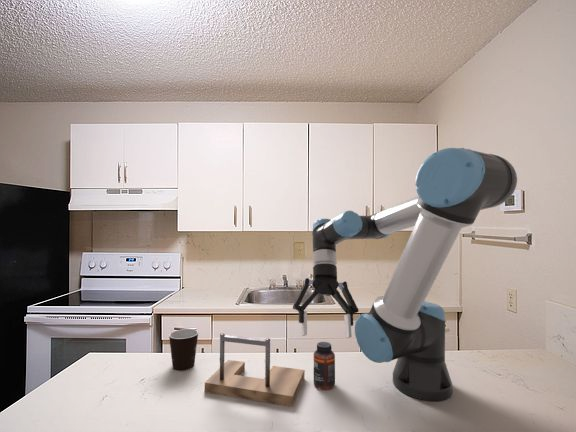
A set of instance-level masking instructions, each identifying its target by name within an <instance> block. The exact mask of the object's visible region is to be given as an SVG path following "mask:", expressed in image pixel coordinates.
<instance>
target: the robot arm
mask: <svg viewBox="0 0 576 432" xmlns="http://www.w3.org/2000/svg"><path fill="white" fill-rule="evenodd" d="M415 175H416V176H415V182H414V183H415V186H416V189H415V190H416V194H417V196H415V197H413V198H410V199H407V200H405V201H402V202H401V203H398V204H396V205H393V206H391V207H388V208H385V209H384V210H380V211H378V212H376V213H374V214H371V215H359V214H358V213H357V212H355V211H353V210H345V211H344V212H341V213H340V214H337V215H336V216H335V217H334V218H332V219H330V218H320V219H317V220H315V221H314V222H313V224H312V231H311V234H312V265H313V267H312V277H313V278H312V279H310V278H308V277H306V278H305V279H304V280H303V282H302V286H301V287H302V288H301V289H300V291H299V293H298V296H297V298H296V299H295V301H294V302H293V305H292V309H293V310H295V311H297V312H298V324H301V336H302V337H303V336H307V335H308V311H306V309H307V308H308V306H309V305H310V304H311V303H312V302H313V301H314V299H315V298H316V297H317V295H319V296H327V297H330V296H331V297H332V298H333V299H334V300H335V302H337V304H338V305H339V306H340V307H341V309H342V310H343V312H344V313H345V314H344V315H343V318H344V334H345V336H344V337H345V338H346V339H349V338H352V327H353V326H354V336H355V339H356V342H357V345H358V347H359V349H360V351H361V352H362V354H363V355H364V356H365V357H366V358H367V359H368V360H370V361H371V362H374V363H377V364H382V363H390V362H392V361H395V360H396V362H395V364H394V367H393V371H392V384H393V385H394V386H395V388H396V389H398V391H400V392H402V393H403V394H404V395H407V396H409V397H412V398H415V399H418V400H422V401H431V402H436V401H437V402H438V401H439V402H441V401H444V400H447V399H449V398H451V397H452V395H453V382H452V379H451V375H450V372H449V370H448V367H447V364H446V322H447V321H446V315H445V309H444V308H443V307H442V306H441V305H439V304H437V303H433V302H430V301H426V298H427V296H428V295H429V292H430V291H431V289H432V287H433V285H434V283H435V281H436V280H437V276H438V275H439V273H440V271H441V270H442V268H443V265H444V263H445V261H446V260H447V257H448V255H449V253H450V252H451V250H452V247H453V245H454V244H455V242H456V240H457V238H458V235H459V233H460V231H461V230H462V229H463V228H466V227H469V226H473V224H474V222H476V218H477V217H478V215H479V214H480V212H481V211H482V210H487V209H491V208H495V207H498V206H501V205H502V204H503V203H505V202H507V201H508V200H509V199H510V198H511V197H512V196H513V194H514V192H515V190H516V188H517V185H518V175H517V172H516V170H515V167H514V166H513V164H512V163H511V162H509V160H507V159H505V157H501V156H500V155H496V154H492V153H486V152H481V151H478V150H472V149H470V148H464V147H458V148H457V147H445V148H443V149H440V150H438V151H436V152H433V153H431V155H429V156H428V157H427V158H425V160H424V161H423V162H422V164H421V165H420V166H419V168H418V170H417V173H416V174H415ZM408 228H413V229H412V230H411V233H410V235H409V238H408V240H407V243H406V245H405V247H404V249H403V250H402V251H403V252H402V254H401V255H400V258H399V260H398V262H397V265H396V268H395V269H394V272H393V274H392V276H391V279H390V281H389V282H388V285H387V288H386V290H385V292H384V295H382V296H378V297H376V298H375V300H374V301H373V303H372V306H371V308H370V309H369V312H368V313H362V314H360V315H359V316H358V317H357V318H356V320H355V322H354V314H357V313H359V307H358V306H357V304H356V302H355V299H354V298H353V296H352V294H351V291H350V290H349V286H348V282H347V281H343V282H338V270H337V269H338V267H337V249H336V247H337V246H336V245H338V244H340V243H341V242H344V241H348V240H368V239H370V240H372V239H373V240H379V239H385V238H387V237H389V235H390V234H393V233H396V232H399V231H403V230H406V229H408ZM311 285H312V286H313V289H314V290H313V291H312V292H311V293H310V295H309V296H308V297H307V299H306V300H305V301H304V302H303V303H302V300H303V299H304V297H305V294H306V293H307V291H308V289H309V287H310V286H311ZM338 288H339V290H341V293H342V295H343V296H342V295H341V293H340V291H339V290H338ZM343 297H344V298H343ZM301 303H302V304H301Z"/></svg>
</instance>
